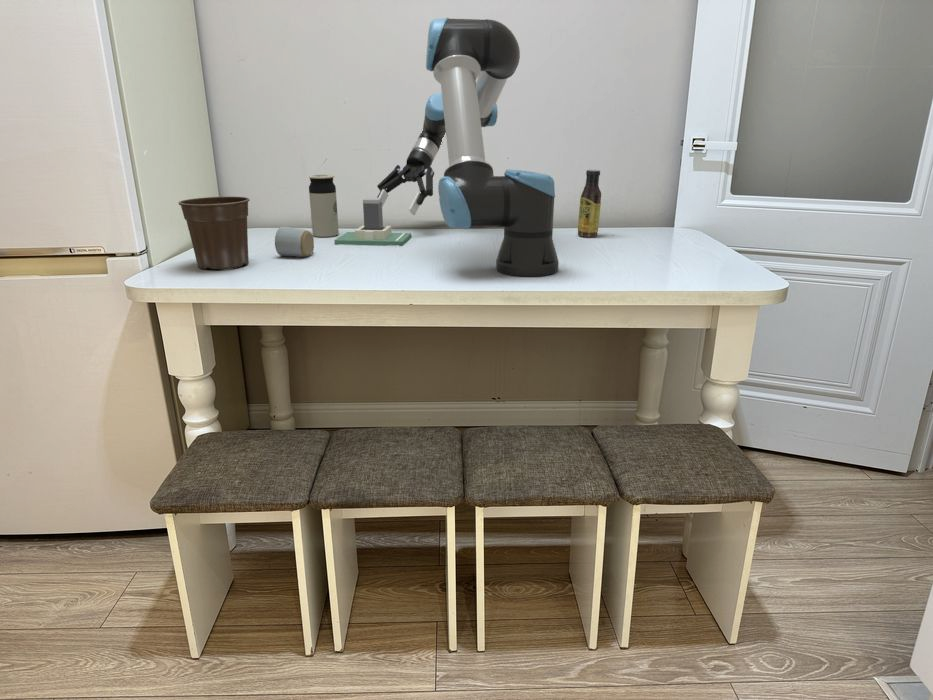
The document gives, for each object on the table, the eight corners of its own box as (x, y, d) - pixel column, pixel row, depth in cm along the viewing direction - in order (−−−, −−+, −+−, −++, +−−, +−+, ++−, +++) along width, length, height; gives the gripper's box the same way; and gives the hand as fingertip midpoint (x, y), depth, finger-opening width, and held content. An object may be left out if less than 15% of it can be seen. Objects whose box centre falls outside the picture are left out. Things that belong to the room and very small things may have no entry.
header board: (402, 245, 185) (402, 232, 184) (334, 244, 187) (333, 231, 186) (411, 236, 198) (411, 224, 197) (347, 235, 200) (347, 223, 199)
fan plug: (379, 238, 190) (378, 200, 186) (364, 237, 191) (362, 199, 187) (383, 235, 194) (381, 198, 191) (368, 235, 195) (366, 197, 191)
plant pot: (179, 264, 163) (169, 199, 158) (241, 255, 173) (234, 194, 167) (201, 276, 152) (191, 206, 146) (267, 266, 161) (260, 200, 156)
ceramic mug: (304, 259, 168) (301, 230, 166) (275, 258, 170) (272, 228, 167) (321, 252, 178) (319, 224, 175) (294, 251, 180) (292, 223, 177)
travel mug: (308, 236, 199) (302, 176, 192) (320, 232, 206) (316, 174, 200) (331, 238, 196) (326, 177, 190) (343, 233, 204) (339, 174, 197)
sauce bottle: (573, 235, 201) (577, 169, 194) (590, 233, 204) (594, 168, 197) (585, 238, 196) (589, 171, 189) (602, 237, 198) (607, 170, 191)
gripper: (459, 166, 201) (432, 221, 195) (396, 163, 214) (369, 214, 207) (449, 149, 195) (421, 205, 189) (385, 147, 208) (356, 199, 201)
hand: (393, 210), depth 198 cm, fingers open, 13 cm apart
